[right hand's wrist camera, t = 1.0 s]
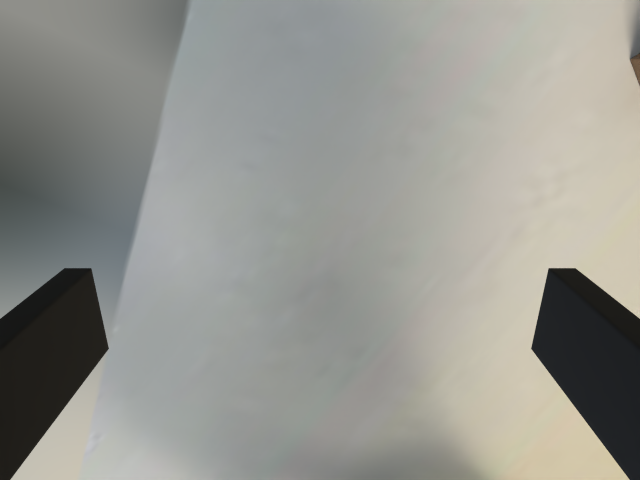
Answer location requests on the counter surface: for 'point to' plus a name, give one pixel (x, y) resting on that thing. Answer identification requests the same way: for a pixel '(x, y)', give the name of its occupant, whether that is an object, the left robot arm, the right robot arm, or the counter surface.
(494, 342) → the counter surface
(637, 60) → the beam
